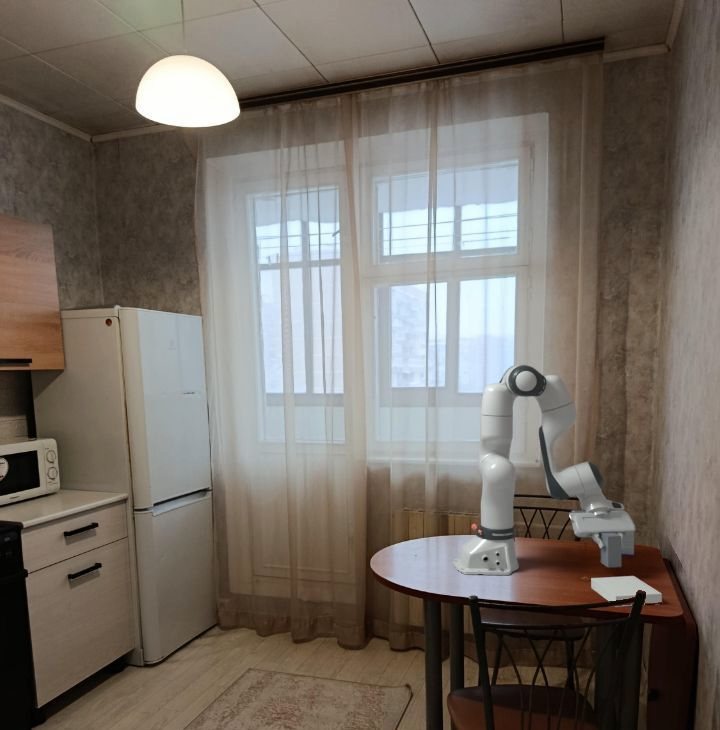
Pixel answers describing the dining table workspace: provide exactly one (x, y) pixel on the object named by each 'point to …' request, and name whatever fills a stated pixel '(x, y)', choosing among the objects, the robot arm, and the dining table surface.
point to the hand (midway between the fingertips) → (612, 547)
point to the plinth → (624, 589)
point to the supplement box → (628, 545)
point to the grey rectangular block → (611, 549)
